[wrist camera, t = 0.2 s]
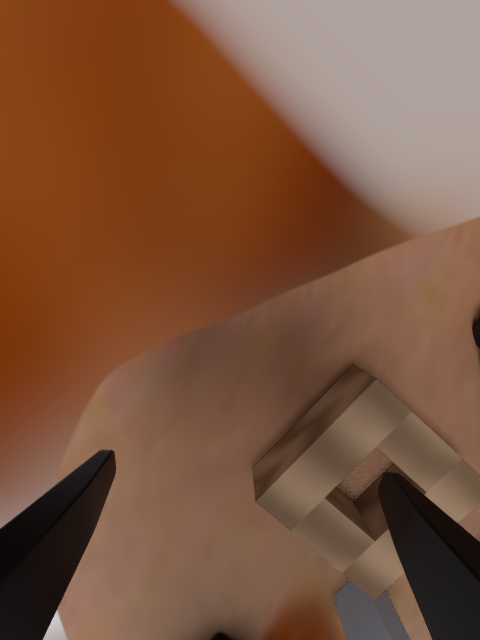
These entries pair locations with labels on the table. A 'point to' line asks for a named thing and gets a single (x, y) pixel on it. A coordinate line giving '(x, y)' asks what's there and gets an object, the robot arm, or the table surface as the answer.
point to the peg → (368, 615)
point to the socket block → (340, 459)
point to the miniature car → (477, 333)
